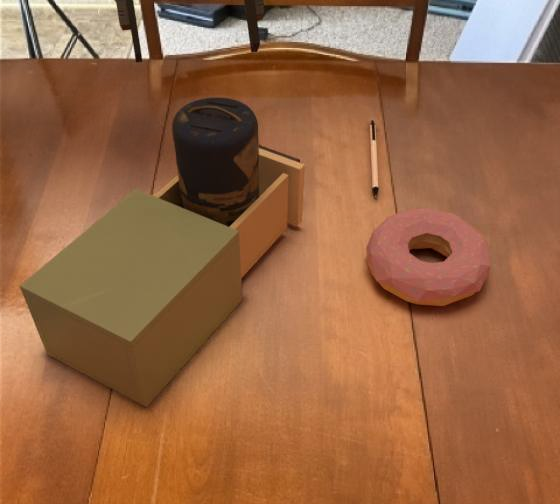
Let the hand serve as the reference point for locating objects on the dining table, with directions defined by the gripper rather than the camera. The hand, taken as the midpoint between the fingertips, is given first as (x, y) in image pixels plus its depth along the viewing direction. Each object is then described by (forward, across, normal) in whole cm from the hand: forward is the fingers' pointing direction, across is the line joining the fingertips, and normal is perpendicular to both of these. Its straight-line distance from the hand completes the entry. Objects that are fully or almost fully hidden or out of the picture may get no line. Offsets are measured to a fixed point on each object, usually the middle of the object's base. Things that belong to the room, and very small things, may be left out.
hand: (197, 53), depth 79 cm
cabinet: (+30, +10, +1) cm, 32 cm away
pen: (+11, -25, -18) cm, 33 cm away
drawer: (+20, -2, -8) cm, 22 cm away
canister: (+21, 0, -6) cm, 22 cm away
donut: (+28, -25, -1) cm, 38 cm away
